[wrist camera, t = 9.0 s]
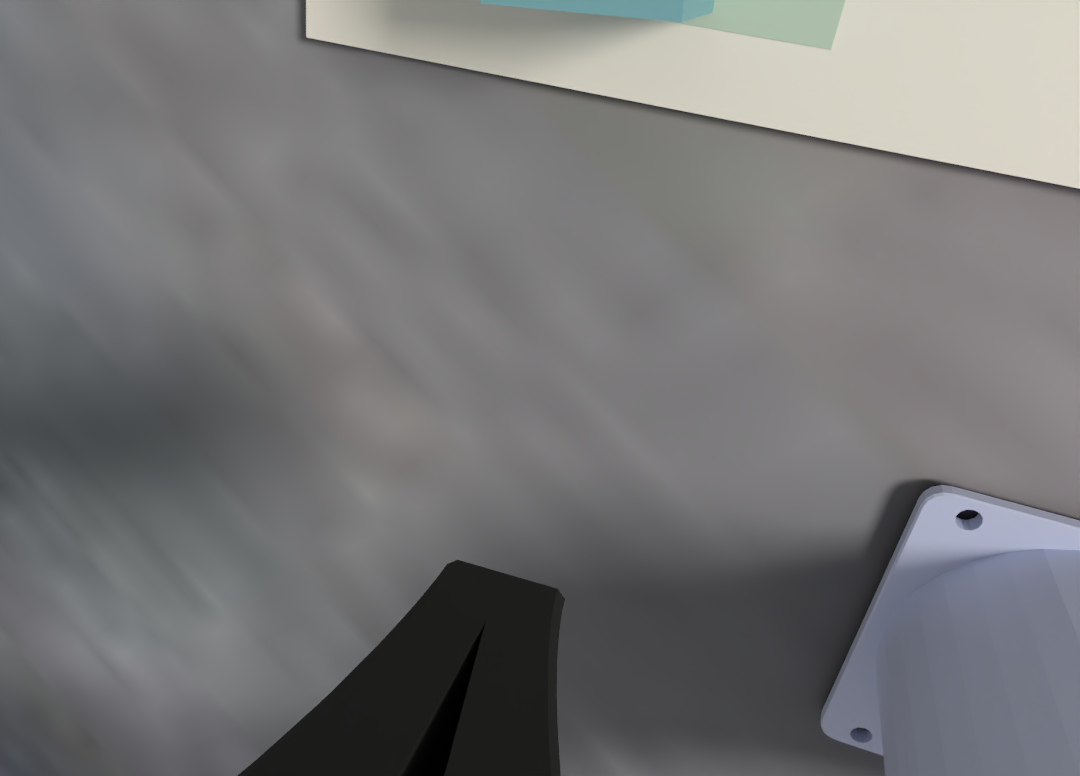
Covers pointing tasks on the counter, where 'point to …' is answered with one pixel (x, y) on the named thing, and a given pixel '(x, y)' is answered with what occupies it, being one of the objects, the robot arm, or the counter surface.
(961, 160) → the mat
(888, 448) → the counter surface
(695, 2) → the tee block
